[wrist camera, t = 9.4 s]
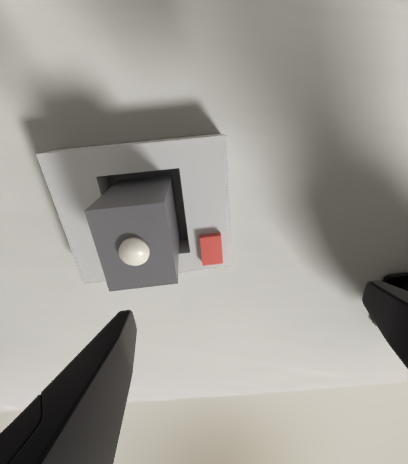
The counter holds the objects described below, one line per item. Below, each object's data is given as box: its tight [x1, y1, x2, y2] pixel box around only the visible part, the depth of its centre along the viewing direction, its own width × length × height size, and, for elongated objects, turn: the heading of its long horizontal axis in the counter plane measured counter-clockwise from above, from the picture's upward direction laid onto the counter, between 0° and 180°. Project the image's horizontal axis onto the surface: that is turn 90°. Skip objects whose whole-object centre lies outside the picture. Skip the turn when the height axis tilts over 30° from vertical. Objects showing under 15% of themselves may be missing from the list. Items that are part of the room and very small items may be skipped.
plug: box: [84, 175, 180, 291], centre depth 16 cm, size 4×5×7 cm
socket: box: [36, 133, 232, 284], centre depth 18 cm, size 12×10×3 cm
